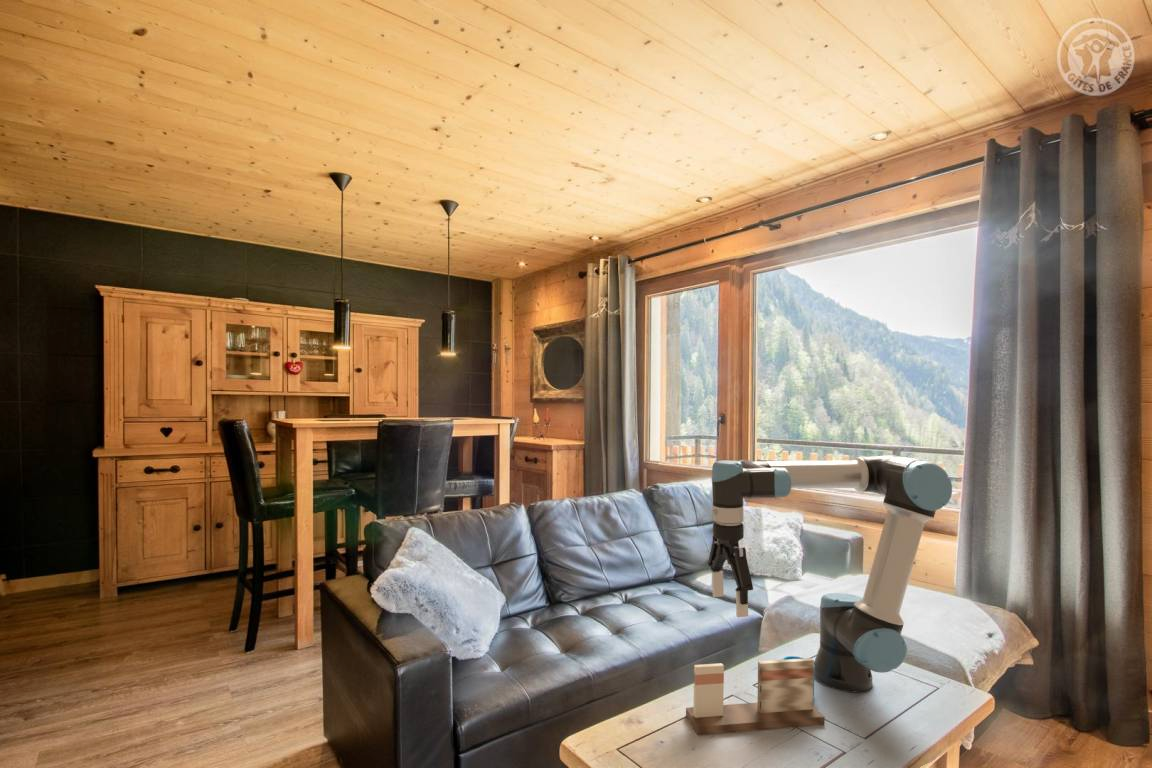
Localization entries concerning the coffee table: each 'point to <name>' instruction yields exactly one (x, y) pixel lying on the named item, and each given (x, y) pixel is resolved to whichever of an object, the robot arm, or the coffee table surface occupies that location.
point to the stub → (708, 690)
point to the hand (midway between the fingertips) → (729, 606)
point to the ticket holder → (769, 702)
